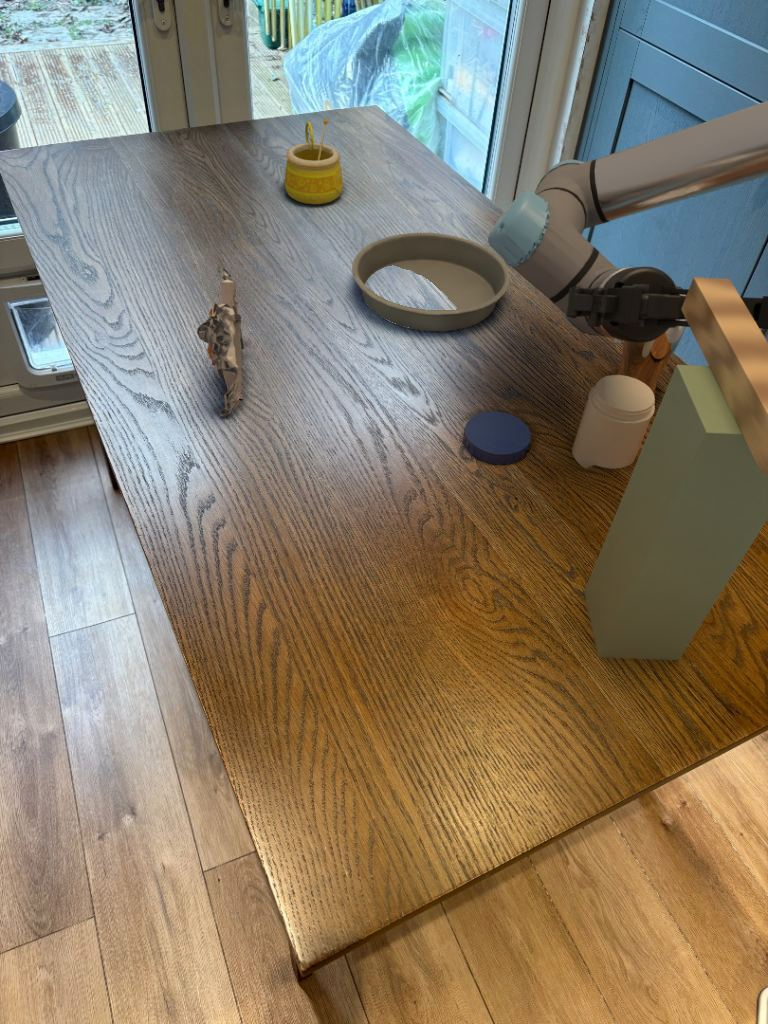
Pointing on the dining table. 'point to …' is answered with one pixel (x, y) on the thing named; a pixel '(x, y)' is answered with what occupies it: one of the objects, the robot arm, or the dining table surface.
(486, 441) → the jar lid
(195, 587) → the dining table surface
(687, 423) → the stand
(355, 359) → the dining table surface
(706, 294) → the beech stick
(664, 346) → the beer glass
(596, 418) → the jam jar
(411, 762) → the dining table surface
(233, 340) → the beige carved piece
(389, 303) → the cake pan
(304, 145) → the yellow pot
